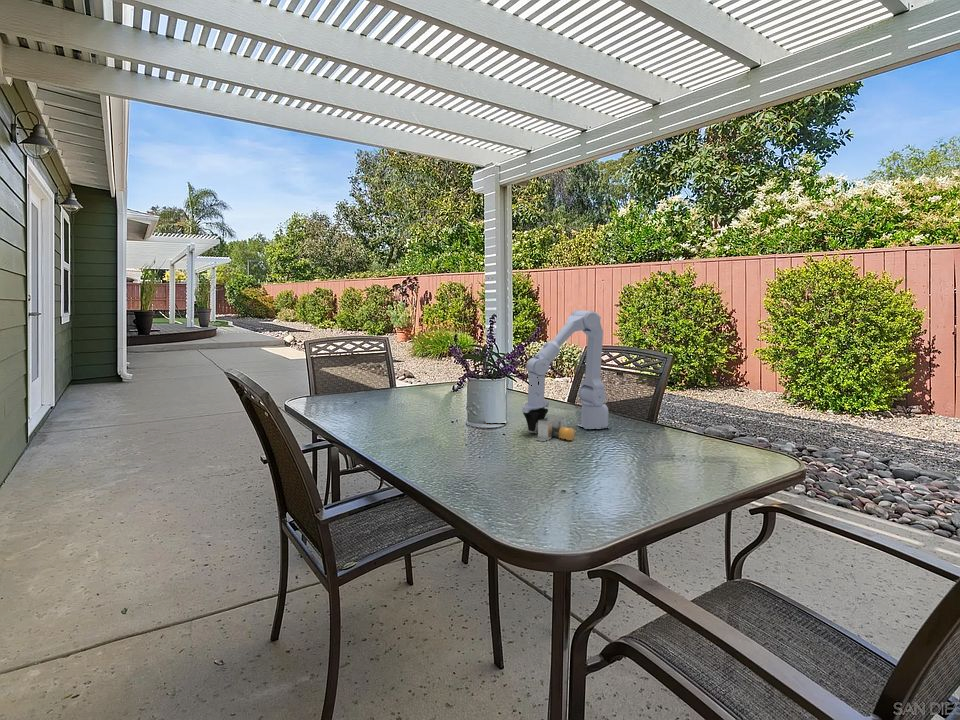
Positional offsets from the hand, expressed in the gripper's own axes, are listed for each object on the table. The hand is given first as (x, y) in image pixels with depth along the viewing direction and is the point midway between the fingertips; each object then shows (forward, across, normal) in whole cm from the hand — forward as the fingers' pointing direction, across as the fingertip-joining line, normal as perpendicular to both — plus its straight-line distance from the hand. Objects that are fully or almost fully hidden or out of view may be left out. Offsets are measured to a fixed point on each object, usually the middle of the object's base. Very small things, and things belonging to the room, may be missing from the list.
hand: (535, 429), depth 196 cm
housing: (+1, 0, +6) cm, 7 cm away
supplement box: (+2, -4, -20) cm, 21 cm away
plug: (+1, 0, +6) cm, 7 cm away
